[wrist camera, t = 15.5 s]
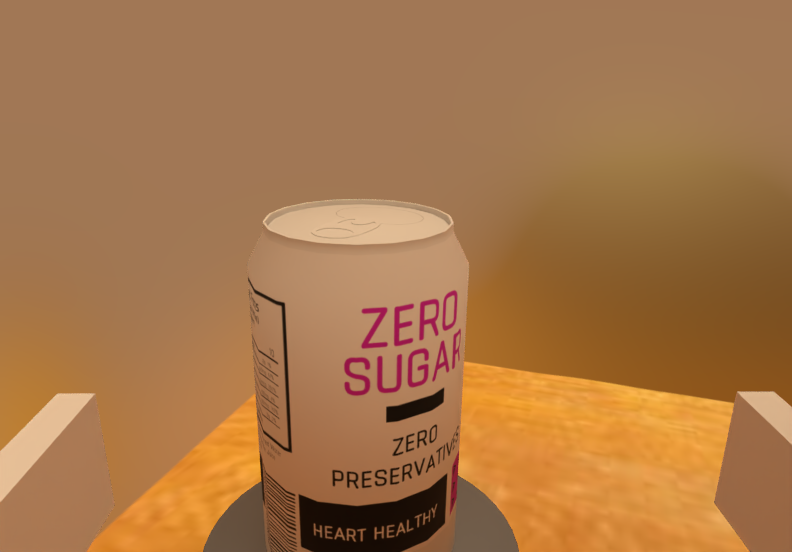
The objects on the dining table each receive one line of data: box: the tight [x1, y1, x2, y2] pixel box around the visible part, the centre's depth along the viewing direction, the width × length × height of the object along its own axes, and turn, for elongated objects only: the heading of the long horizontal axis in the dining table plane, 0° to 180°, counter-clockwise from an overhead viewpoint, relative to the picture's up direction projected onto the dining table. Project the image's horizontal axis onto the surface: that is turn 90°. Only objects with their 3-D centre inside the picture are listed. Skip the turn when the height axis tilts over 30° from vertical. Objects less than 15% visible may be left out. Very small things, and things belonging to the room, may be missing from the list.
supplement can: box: [247, 199, 469, 552], centre depth 26 cm, size 8×8×15 cm
